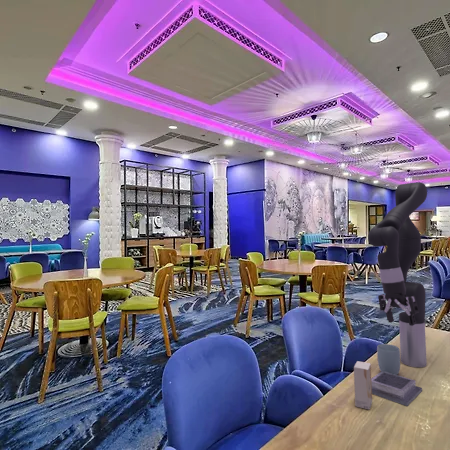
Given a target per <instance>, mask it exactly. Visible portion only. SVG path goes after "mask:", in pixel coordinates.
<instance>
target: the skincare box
mask: <svg viewBox="0 0 450 450" xmlns="http://www.w3.org/2000/svg"><path fill="white" fill-rule="evenodd" d="M371 379H372V364H371V363H370V362H365V361H360V360H359V361H358V360H357V361H356V363H354V366H353V381H354V406H355V407H357V408H362V409H364V410H365V409H366V410H370V409H371V407H372V403H373V394H372V384H371Z"/></svg>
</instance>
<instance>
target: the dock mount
mask: <svg viewBox="0 0 450 450" xmlns="http://www.w3.org/2000/svg"><path fill="white" fill-rule="evenodd" d="M371 384H372V395H374V396H376V397H379V398H382V399H386V400H388V401H391V402H394V403H397V404H400V405H402V406H405V407H408V406H410V404H411V403H413V401H414V400H415V399H416V398H417V397H418V396H419V395H420V394H421V393H422V392H423V387H421V386H417V385H416V380H415V379H412V378H408V377H405V376H401V375H399V374H397V375H395V374H392V373H388V372H385V371H380V372H378V373H377V374H375V376H373V377H371Z"/></svg>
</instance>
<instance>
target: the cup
mask: <svg viewBox="0 0 450 450" xmlns="http://www.w3.org/2000/svg"><path fill="white" fill-rule="evenodd" d="M376 348H377V349H376V353H377V356H376V357H377V363H378V365H377V366H378V369H379V371H380V372H381V371H385V372H388V373H392V374H395V375H399V373H400V371H401V354H400V347H399V346H397V345H393V344H387V343H386V344H385V343H381V344H380V343H379V344H378V345H377V347H376Z"/></svg>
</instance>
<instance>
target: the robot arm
mask: <svg viewBox="0 0 450 450" xmlns="http://www.w3.org/2000/svg"><path fill="white" fill-rule="evenodd" d="M427 196H428V189H427V187H426V185H425V183H423V182H420V181H419V182H418V181H417V182H410V183H404V184H398V185H397V186H396V188H395V193H394V197H395V198H394V199H395V201H394V202H395V206H394V207H393V208H392V209H391V208H390V210H389V211H388V212H387V214H386V215H385V216H384V218H383V219H382V220H381V221H379V222H378V223H376V225H374V226H373V227H372V228H371V229H370V230H369V232H368V235H367V240H368V243H369V244H370V245H371V246H373V247H377V248H378V247H386V249H385V251H384V252H380V253H378V254H377V257H376V258H377V262H378V268H379V276H380V280H381V287H382V290H383V293H382V294H378V295H377V298H378V299H377V300H378V303H379V309H380V311H383V312H384V313H385V315H386V320H387V321H388V323H393V322H394V321H395V318H394V315H393V309H394V308H398V309H402V311H401V312H399V314H398V322H399V323H398V326H399V349H400V363H402V364H403V365H406V366H409V367H412V368H425V367H426V366H427V365H428V362H427V344H426V340H427V339H426V324H425V323H426V322H425V321H426V320H425V318H426V289H425V286H424V284H422V283H420V282H413V281H407V277H408V273H409V271H410V268H411V267H412V265H413V264H414V262H415V261H416V260H417V258H418V257H419V255H420V254H421V251H422V235H421V232H420V230H419V229H418V228H417V226H416V225H415V224H414V222H413V220H412V219H411V217H410V216H411V215H412V214H413V213H414V212H415V211H416V210H418V208H419V207H421V206H422V205H423V204H424V202H426V200H427V198H428V197H427Z"/></svg>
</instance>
